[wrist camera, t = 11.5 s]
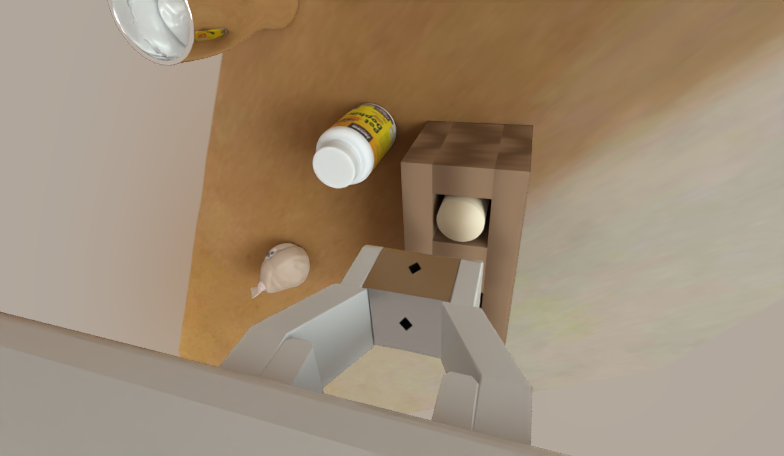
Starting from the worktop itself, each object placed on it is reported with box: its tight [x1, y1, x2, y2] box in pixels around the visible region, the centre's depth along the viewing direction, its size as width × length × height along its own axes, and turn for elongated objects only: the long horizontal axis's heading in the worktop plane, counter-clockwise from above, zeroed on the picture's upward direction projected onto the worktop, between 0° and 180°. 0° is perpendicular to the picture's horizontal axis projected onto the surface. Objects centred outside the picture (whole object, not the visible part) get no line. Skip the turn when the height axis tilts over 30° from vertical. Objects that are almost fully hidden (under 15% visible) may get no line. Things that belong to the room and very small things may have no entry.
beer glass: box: [107, 0, 299, 65], centre depth 32 cm, size 7×7×15 cm
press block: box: [401, 121, 533, 345], centre depth 41 cm, size 10×20×10 cm, turn 3°
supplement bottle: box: [313, 103, 396, 188], centre depth 39 cm, size 6×6×10 cm
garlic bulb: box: [251, 243, 310, 299], centre depth 54 cm, size 7×6×8 cm
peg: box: [437, 195, 490, 242], centre depth 37 cm, size 4×4×9 cm
